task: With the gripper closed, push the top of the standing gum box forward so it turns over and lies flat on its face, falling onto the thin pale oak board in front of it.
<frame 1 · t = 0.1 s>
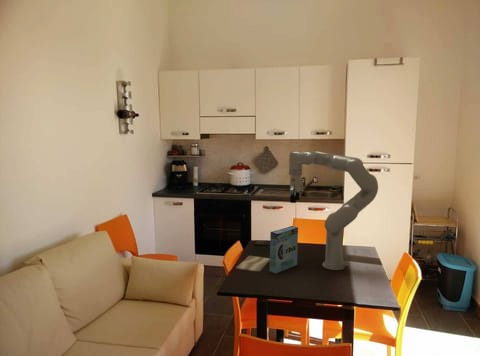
hand: (294, 201, 218), 37 cm above the table, tool pointing down, fingers open, 9 cm apart
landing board: (253, 263, 218), on the table
gum box: (283, 268, 211), on the table
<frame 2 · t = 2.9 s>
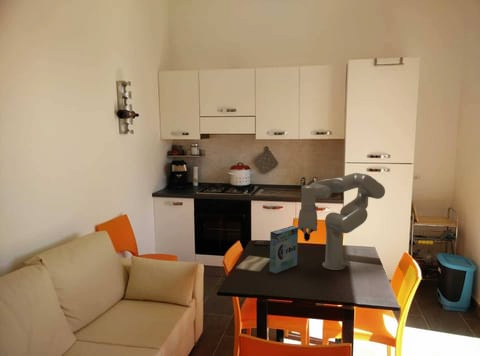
hand: (306, 240, 204), 18 cm above the table, tool pointing down, fingers closed
nothing on the table moved.
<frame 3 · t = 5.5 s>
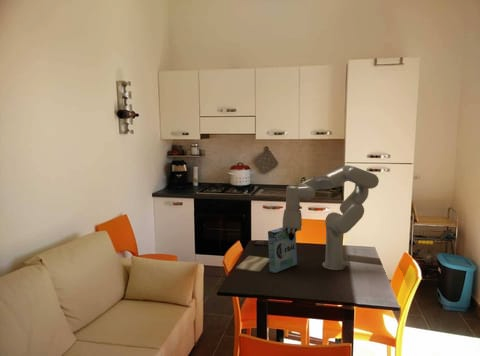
hand: (291, 239, 207), 17 cm above the table, tool pointing down, fingers closed
gum box: (283, 268, 211), on the table, touching gripper
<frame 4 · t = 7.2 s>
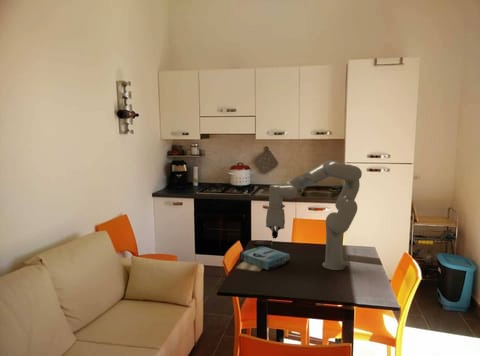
hand: (274, 237, 211), 17 cm above the table, tool pointing down, fingers closed
gum box: (279, 262, 212), point 3 cm above the table, touching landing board
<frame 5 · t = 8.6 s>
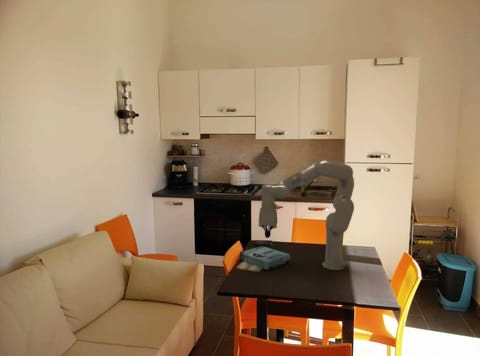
hand: (267, 237, 213), 17 cm above the table, tool pointing down, fingers closed
nothing on the table moved.
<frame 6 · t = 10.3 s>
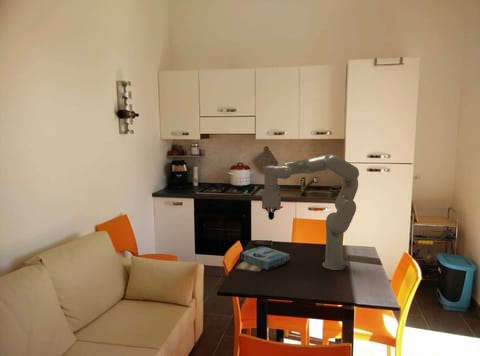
hand: (271, 219, 211), 28 cm above the table, tool pointing down, fingers closed
nothing on the table moved.
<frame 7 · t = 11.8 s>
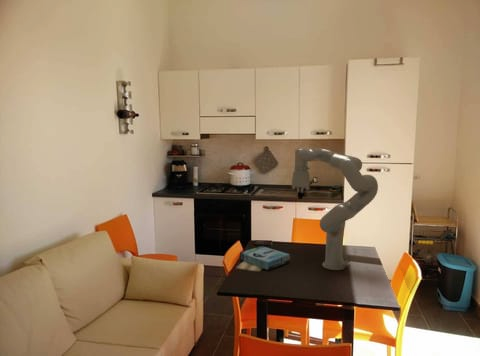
hand: (300, 198, 225), 37 cm above the table, tool pointing down, fingers closed
nothing on the table moved.
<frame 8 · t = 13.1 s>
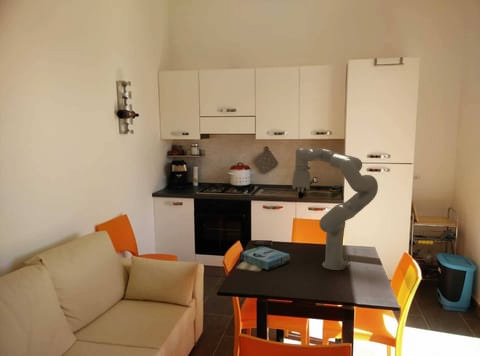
hand: (300, 198, 225), 37 cm above the table, tool pointing down, fingers closed
nothing on the table moved.
at the end: gum box tilted 91°; gum box inside the target area (4.2 cm from its centre), point 3.2 cm above the table; the gripper is holding nothing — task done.
